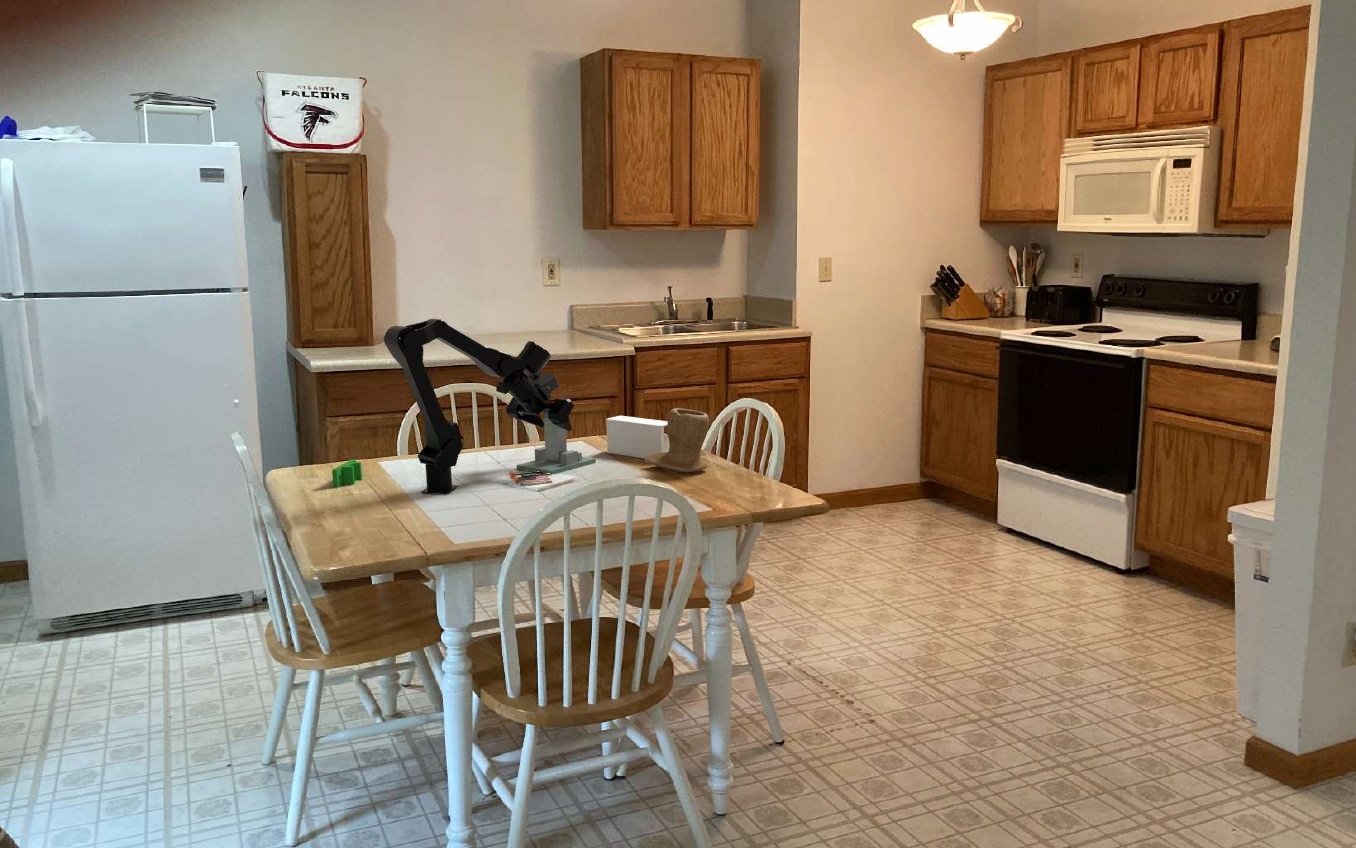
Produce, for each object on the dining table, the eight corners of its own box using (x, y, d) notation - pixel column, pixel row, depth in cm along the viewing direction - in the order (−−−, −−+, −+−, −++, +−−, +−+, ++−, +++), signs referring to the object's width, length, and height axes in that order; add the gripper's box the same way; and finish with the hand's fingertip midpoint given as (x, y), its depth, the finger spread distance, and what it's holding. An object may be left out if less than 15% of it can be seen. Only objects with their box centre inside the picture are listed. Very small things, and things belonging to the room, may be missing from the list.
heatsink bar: (559, 464, 271) (556, 412, 269) (544, 462, 274) (542, 411, 272) (568, 461, 274) (566, 410, 272) (554, 459, 277) (551, 408, 275)
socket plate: (551, 474, 265) (550, 458, 264) (516, 469, 272) (515, 453, 271) (595, 462, 277) (595, 447, 276) (561, 457, 284) (560, 442, 283)
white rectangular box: (675, 458, 280) (674, 422, 279) (661, 462, 276) (660, 425, 274) (617, 449, 293) (616, 415, 291) (603, 453, 289) (602, 418, 287)
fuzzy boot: (720, 470, 266) (719, 409, 263) (682, 478, 258) (680, 415, 255) (680, 460, 277) (679, 402, 274) (643, 468, 270) (641, 408, 267)
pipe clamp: (348, 489, 256) (347, 469, 255) (333, 489, 257) (331, 469, 256) (367, 477, 267) (365, 459, 266) (352, 477, 268) (351, 459, 267)
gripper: (567, 366, 260) (599, 405, 271) (512, 361, 272) (545, 399, 282) (545, 403, 256) (579, 442, 266) (490, 397, 267) (524, 434, 278)
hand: (557, 428), depth 273 cm, fingers open, 9 cm apart
